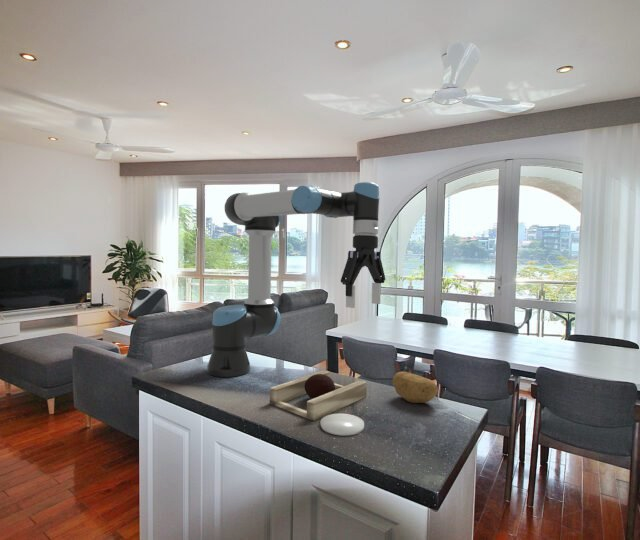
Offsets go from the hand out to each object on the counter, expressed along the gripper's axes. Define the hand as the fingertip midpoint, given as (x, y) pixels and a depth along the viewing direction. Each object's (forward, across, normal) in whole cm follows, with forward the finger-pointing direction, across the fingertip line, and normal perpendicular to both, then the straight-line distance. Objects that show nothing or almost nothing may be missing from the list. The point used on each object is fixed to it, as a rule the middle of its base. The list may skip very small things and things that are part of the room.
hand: (363, 305), depth 118 cm
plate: (+28, -20, -8) cm, 35 cm away
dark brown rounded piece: (+28, -11, +7) cm, 31 cm away
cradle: (+28, -11, +7) cm, 31 cm away
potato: (+28, +8, -14) cm, 32 cm away
